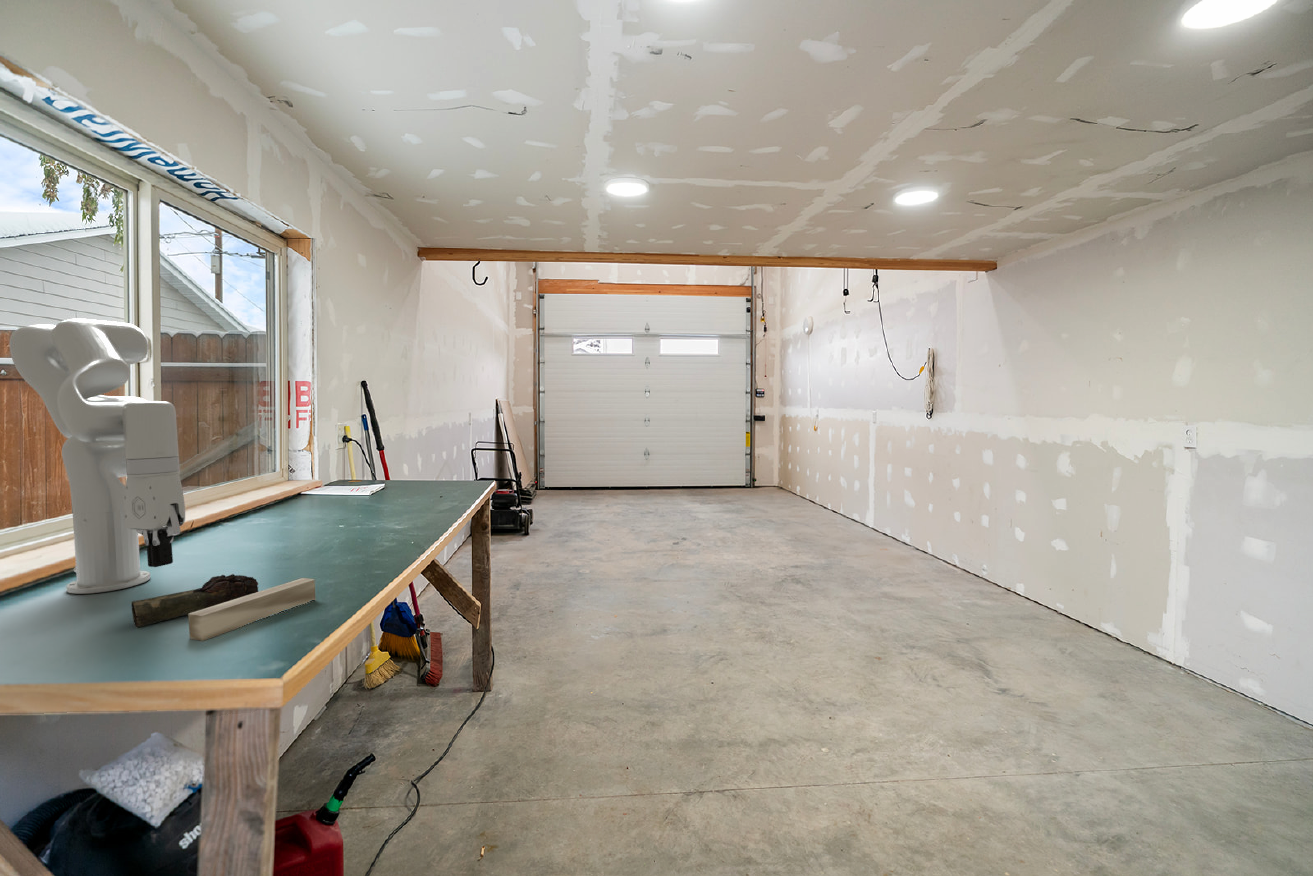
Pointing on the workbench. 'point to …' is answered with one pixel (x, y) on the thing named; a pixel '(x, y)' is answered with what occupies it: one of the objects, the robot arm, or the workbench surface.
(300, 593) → the bar
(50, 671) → the workbench surface
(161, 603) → the brown long lumpy piece
